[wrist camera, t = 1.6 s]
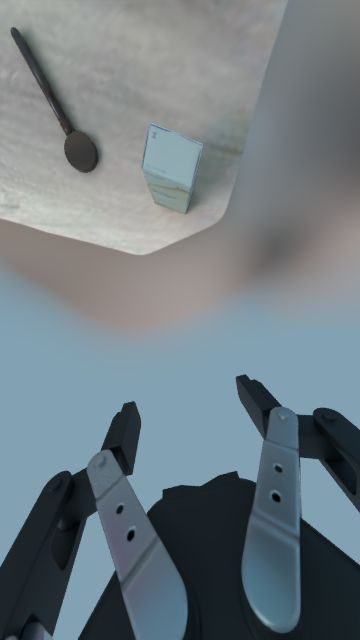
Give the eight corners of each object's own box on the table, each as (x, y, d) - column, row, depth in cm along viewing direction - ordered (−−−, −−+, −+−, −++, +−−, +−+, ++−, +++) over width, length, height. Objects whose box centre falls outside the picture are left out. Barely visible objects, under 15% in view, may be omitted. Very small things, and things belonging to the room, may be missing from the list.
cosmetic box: (153, 203, 31) (138, 169, 19) (160, 174, 29) (147, 119, 18) (187, 215, 31) (190, 189, 20) (195, 187, 30) (204, 142, 18)
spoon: (4, 47, 24) (-4, 37, 23) (31, 23, 23) (23, 11, 22) (79, 178, 29) (75, 175, 28) (103, 162, 29) (100, 158, 27)
